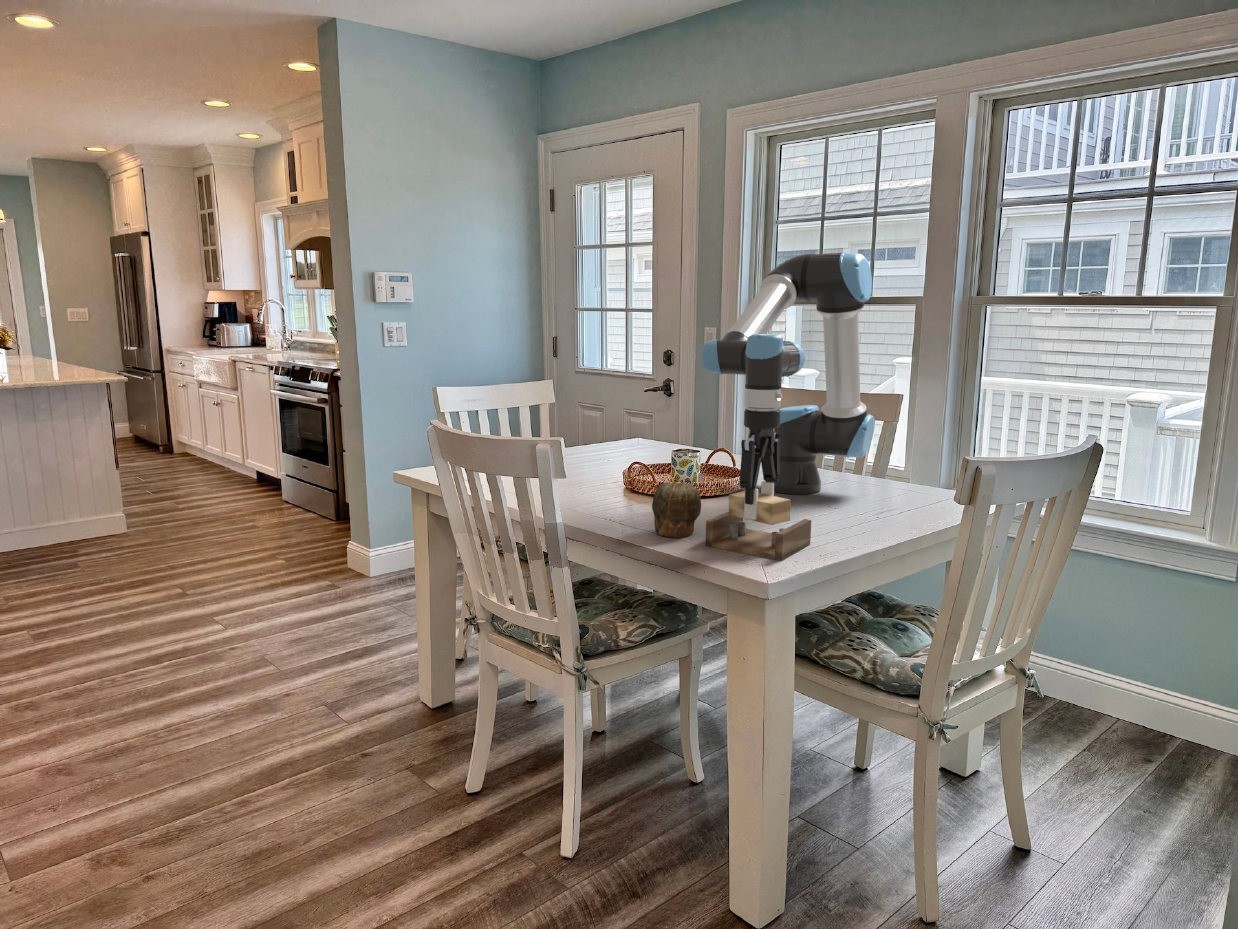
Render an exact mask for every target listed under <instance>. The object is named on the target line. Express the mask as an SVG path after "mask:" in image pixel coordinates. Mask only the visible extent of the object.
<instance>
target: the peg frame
mask: <svg viewBox="0 0 1238 929" xmlns="http://www.w3.org/2000/svg"><path fill="white" fill-rule="evenodd" d="M811 533H812V519H806V518H803V519H801V520H799V521H797V522H796V523H794V524H792V525H790V526H788V527H780V528H779V530H778V531H772V532H767V531H761V530H755V529H749V528H747V521H745V520H744V518H740V517H736V516H732V515H729V511H727V512H724V513H722V514H720V515H717V516H714V517H712V518H709V519H708V520H706V521H705V546H706V547H711V548H714V549H715V548H717V549H720V550H721V549H722V550H726V551H731V552H735V553H736V552H737V553H740V554H741V553H742V554H745V555H751V556H756V557H761V558H768V559H771V560H777V561H781V562H782V561H785V560H786V559H788V558H790V557H792V556H793V555H795V554H797V553H799V552H800V551H801V550H804V549H805V548H806V547H808V546H810V545H811V538H812V537H811Z"/></svg>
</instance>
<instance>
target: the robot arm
mask: <svg viewBox="0 0 1238 929" xmlns="http://www.w3.org/2000/svg"><path fill="white" fill-rule="evenodd" d="M872 287H873V276H872V270H871V266H870V264H869V261H868V260H867V258H866V256H864V255H863V254H861V253H856V252H854V253H853V252H852V253H851V252H835V253H834V252H831V253H814V254H813V253H806V254H805V253H804V254H799V255H796V256H794V257H791V258H789V259H787V260H785V261H784V262H782V263H781V264H779V265H777V266H776V267H775V268H772V270H770V272H769V273H767V275H766V276H765V277H764V278H763V280H762V281H761V283H760V285H759V291H758V293H757V294H756V295H755V297H753V299H752V300H751V302H750V303H748V305H747V307H745V309H744V311H742V313H741V314H740V316H739V317H738V318H737V320H736V321H735V322H734V323H733V325H732V326H731V327H730V328H729V330H728V331H727V333H726V334H725V335H724V336H723V337H722V339H717V338H716V339H710V340H707V341H706V342H705V343H704V344H703V347H702V350H701V355H700V356H701V364H702V366H703V368H704V371H706V372H707V373H710V374H712V373H713V374H719V375H738V376H739V375H742V376H743V375H745V382H744V383H745V384H744V385H745V386H744V387H745V388H744V404H743V405H744V407H745V408H746V409H744V412H743V413H744V414H743V426H744V427H745V428H748V429H749V434H748V439H741V446H740V447H741V458H740V470H739V471H740V472H739V482H738V486H739V487H740V489H744V491H745V504H744V518H747V519H746V520H748V519H753V520H756V519H757V510H758V493H759V489H758V488H757V484H758V480H759V474H760V469H761V471H762V478H763V481H761V485H760V487H761V488H760V493H762V494H766V495H771V496H775V495H774V494H775V492H776V493H780V494H787V495H788V494H789V495H805V494H814V493H818V492H820V491H821V489H822V480H821V479H822V478H821V477H820V474H819V472H820V471H819V469H818V465H817V455H824V456H831V457H832V456H834V457H842V458H843V457H844V458H847V459H848V458H859V459H860V458H863V457H864V456H866V455H867V453H868V452H869V450H870V448H871V447H870V446H871V444H872V442H873V437H874V432H875V426H876V423H875V417H874V416H873V415H871V413H868V412H867V411H868V410H867V409H868V408H867V406H866V404H865V403H863V402H862V401H861V377H860V376H861V374H860V373H861V372H860V371H861V370H860V333H859V330H860V329H859V313H860V312H861V311H862V310H863V309H864V307H865V302H868V301H869V299H870V298H871V296H872V292H873V291H872V290H873V289H872ZM798 302H815V305H816V311H817V312H818V313H819V314H820V315H821V316H822V320H823V321H822V322H823V326H822V327H823V343H824V344H823V346H824V366H825V367H824V368H825V369H824V370H825V391H826V392H825V393H826V403H825V404H824V405H823V406H822V407H821V409H820V410H821V411H819V406H818V405H815V404H814V405H811V404H807V405H794V406H789V407H783V408H780V407H781V405H782V402H781V401H782V400H781V399H782V398H783V394H782V380H783V377H787V378H789V377H790V376H793V375H795V374H797V373H799V372H800V371H801V370H802V368H803V367H804V365H805V361H806V354H805V352H804V349H803V348H802V346H801V345H800V344H798V343H796V342H795V341H790V340H787V341H785V340H784V338H783V336H782V335H780V334H778V333H777V334H776V333H773V334H772V333H768V332H769V331H770V329H771V328H772V327H773V325H774V324H775V322H776V321H777V320H778V319H779V317H780V316H781V314H782V313H783V312H784V310H786V309H789V308H791V307H792V306H793V305H794V304H795V303H798ZM779 408H780V409H779ZM867 413H868V414H867ZM744 518H743V519H744Z"/></svg>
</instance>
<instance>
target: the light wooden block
mask: <svg viewBox="0 0 1238 929" xmlns="http://www.w3.org/2000/svg"><path fill="white" fill-rule="evenodd" d="M791 501H792V499H790V498H786V497H779V496H776V495H774V496H771V495H766V494H762V493H761V492H758V510H757V519H756V520H753V519H747V518H744V504H745V490H744V491H740V492H739V491H738V492H734V493H730V494H728V512H729V515H732V516H736V517H740V518H743V520H744V519H745V520H750V521H752V522H757V523H762V524H765V525H770V526H775V525H779V524H781V523H786V522H790V521H791V509H792V508H791V504H792V502H791Z"/></svg>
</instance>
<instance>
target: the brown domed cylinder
mask: <svg viewBox="0 0 1238 929" xmlns="http://www.w3.org/2000/svg"><path fill="white" fill-rule="evenodd" d="M701 500H702V499H701V494H700V492H699V490H698V489H697V488H696V487H695V486H694V485H692V484H690V483H685V482H680V483H678V482H676V481H672V482H665V483H661V485H659V486H658V488H657V489H656V490H655V493H654V495H653V498H652V503H651V509H652V512H653V515H654V516H653V517H654V520H653V522H654V529H655V532H656V533H657V535H659V536H662V537H667V538H676V539H680V538H688V537H690V536H692V535H693V533H694V530H695V524H696V523H695V522H696V520H697V519H698V517H699V516H700V515H701V512H702V501H701Z"/></svg>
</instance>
